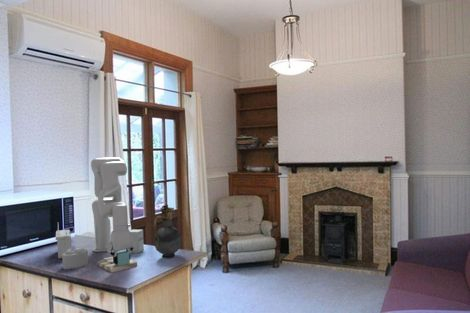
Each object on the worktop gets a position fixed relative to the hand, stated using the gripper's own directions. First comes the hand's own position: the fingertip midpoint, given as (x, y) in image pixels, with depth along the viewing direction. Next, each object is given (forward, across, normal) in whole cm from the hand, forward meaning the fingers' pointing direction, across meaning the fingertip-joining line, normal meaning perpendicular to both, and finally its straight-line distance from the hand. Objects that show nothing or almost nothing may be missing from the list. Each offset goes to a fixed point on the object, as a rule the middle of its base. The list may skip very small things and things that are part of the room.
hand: (122, 261), depth 191 cm
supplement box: (+3, -20, -25) cm, 32 cm away
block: (+1, 0, 0) cm, 1 cm away
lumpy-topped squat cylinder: (+4, +16, -25) cm, 30 cm away
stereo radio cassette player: (+4, +13, -53) cm, 54 cm away
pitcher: (+3, -26, +1) cm, 26 cm away
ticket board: (+3, 0, -6) cm, 7 cm away
